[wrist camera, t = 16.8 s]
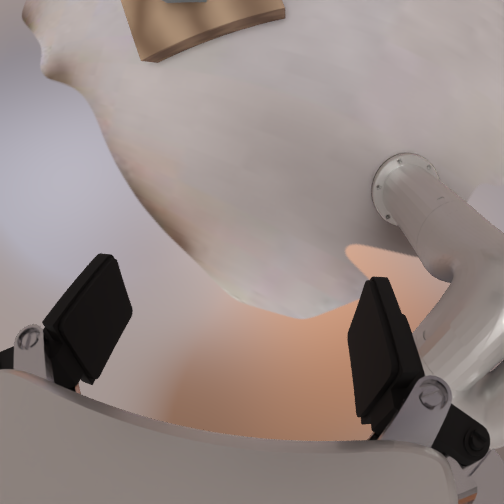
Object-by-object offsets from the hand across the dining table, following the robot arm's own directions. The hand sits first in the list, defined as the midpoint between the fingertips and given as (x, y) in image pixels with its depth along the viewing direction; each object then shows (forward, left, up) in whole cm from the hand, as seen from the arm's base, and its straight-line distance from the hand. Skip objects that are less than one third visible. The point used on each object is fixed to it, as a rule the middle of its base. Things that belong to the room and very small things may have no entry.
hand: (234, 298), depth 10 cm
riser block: (+11, -23, -35) cm, 43 cm away
